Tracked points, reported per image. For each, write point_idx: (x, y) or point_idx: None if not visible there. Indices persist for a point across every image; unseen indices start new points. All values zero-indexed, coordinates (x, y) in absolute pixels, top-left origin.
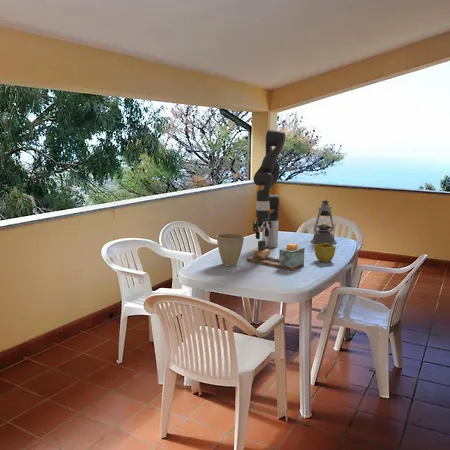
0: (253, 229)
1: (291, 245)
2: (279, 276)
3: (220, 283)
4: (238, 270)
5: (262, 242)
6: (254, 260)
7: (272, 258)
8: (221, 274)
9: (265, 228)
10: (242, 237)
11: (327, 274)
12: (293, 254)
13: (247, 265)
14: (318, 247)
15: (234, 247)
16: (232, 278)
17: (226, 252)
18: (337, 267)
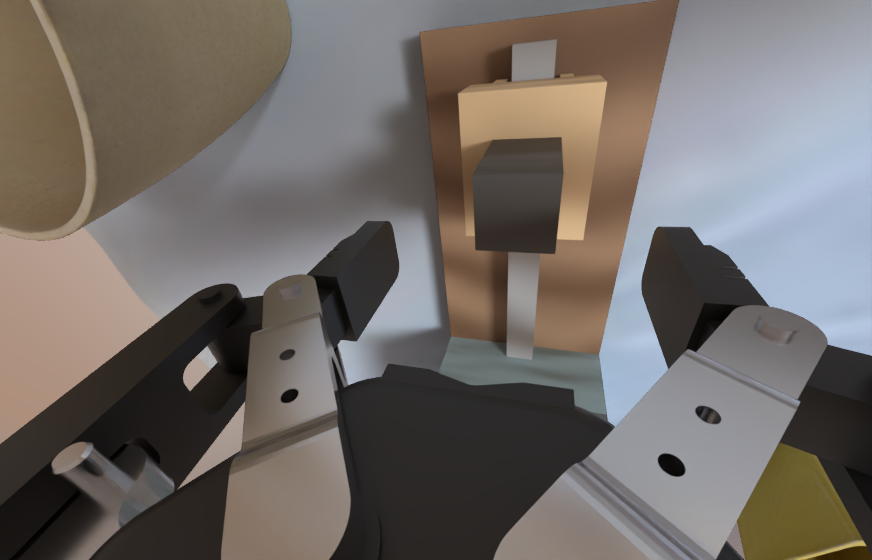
0: (181, 318)
1: None
2: (351, 371)
3: (105, 251)
4: (236, 185)
5: (478, 246)
6: (432, 140)
7: (508, 274)
8: None
9: (717, 351)
10: (59, 233)
11: None
12: None
13: (342, 151)
14: (795, 547)
15: (80, 164)
16: (165, 248)
17: (63, 81)
18: None
